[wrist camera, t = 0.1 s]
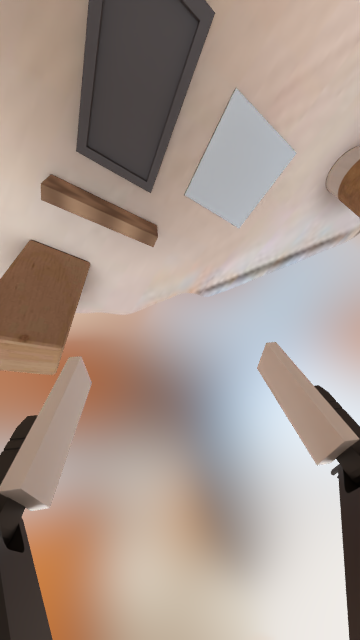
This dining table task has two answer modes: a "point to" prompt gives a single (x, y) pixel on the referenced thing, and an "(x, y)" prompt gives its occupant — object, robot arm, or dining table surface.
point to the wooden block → (38, 308)
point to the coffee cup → (346, 180)
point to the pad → (239, 162)
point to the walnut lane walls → (97, 210)
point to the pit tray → (137, 80)
